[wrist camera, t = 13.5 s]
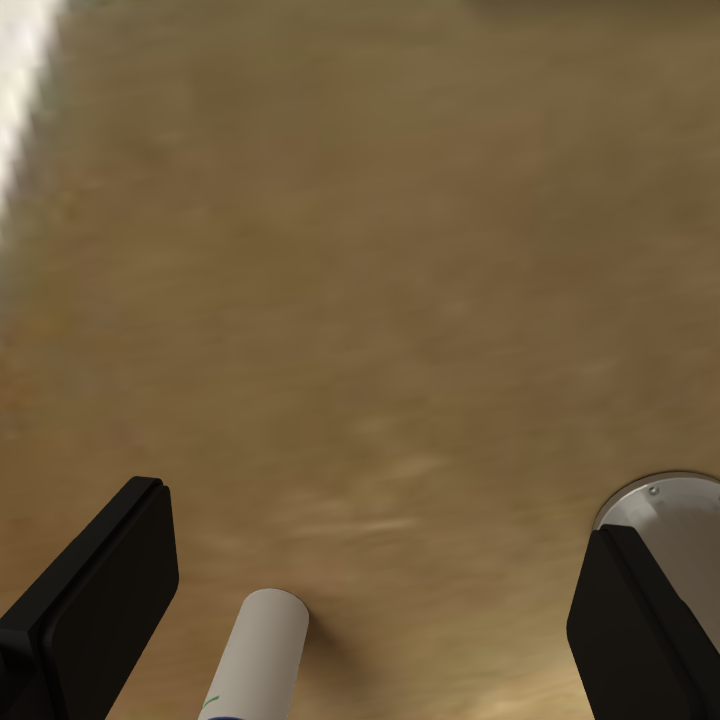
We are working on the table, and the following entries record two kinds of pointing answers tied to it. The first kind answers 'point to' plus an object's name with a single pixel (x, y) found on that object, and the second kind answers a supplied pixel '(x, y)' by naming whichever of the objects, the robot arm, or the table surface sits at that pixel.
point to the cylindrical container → (259, 660)
